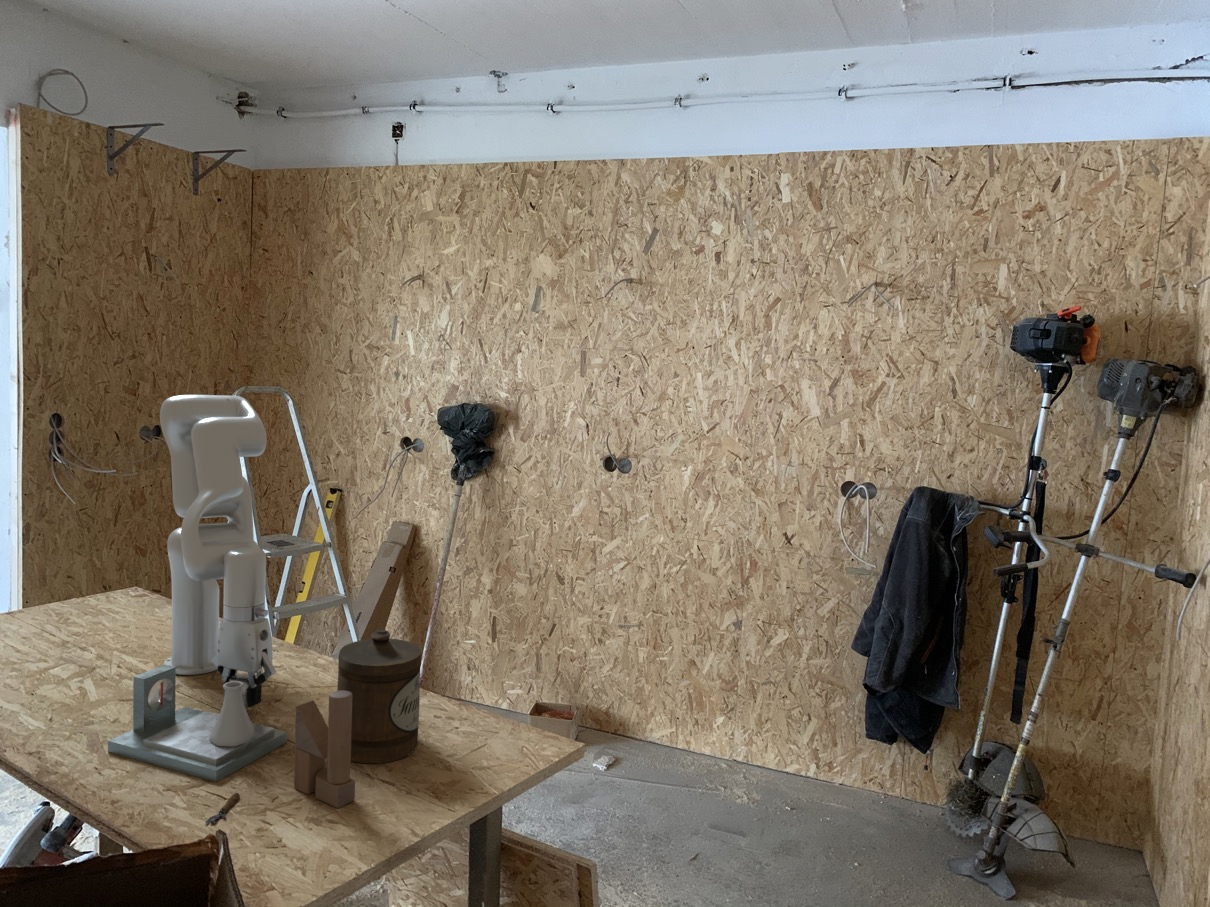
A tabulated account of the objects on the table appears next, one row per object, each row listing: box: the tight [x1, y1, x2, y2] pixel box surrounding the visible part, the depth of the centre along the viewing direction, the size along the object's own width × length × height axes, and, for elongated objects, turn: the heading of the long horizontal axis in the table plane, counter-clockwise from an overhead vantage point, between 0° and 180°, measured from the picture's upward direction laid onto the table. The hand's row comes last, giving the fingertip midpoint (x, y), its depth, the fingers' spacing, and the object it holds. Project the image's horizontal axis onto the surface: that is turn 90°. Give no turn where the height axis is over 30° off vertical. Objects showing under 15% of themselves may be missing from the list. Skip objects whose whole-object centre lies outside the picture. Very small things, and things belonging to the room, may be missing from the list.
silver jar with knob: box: [229, 673, 257, 709], centre depth 174 cm, size 5×5×5 cm
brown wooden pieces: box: [293, 690, 356, 809], centre depth 144 cm, size 4×11×18 cm, turn 57°
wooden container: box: [336, 628, 422, 764], centre depth 163 cm, size 15×15×22 cm
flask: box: [209, 681, 256, 747], centre depth 156 cm, size 7×7×10 cm
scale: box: [107, 665, 288, 783], centre depth 159 cm, size 17×24×12 cm
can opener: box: [205, 792, 241, 827], centre depth 138 cm, size 9×2×1 cm, turn 172°
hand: (242, 701), depth 175 cm, fingers closed on silver jar with knob, 4 cm apart
